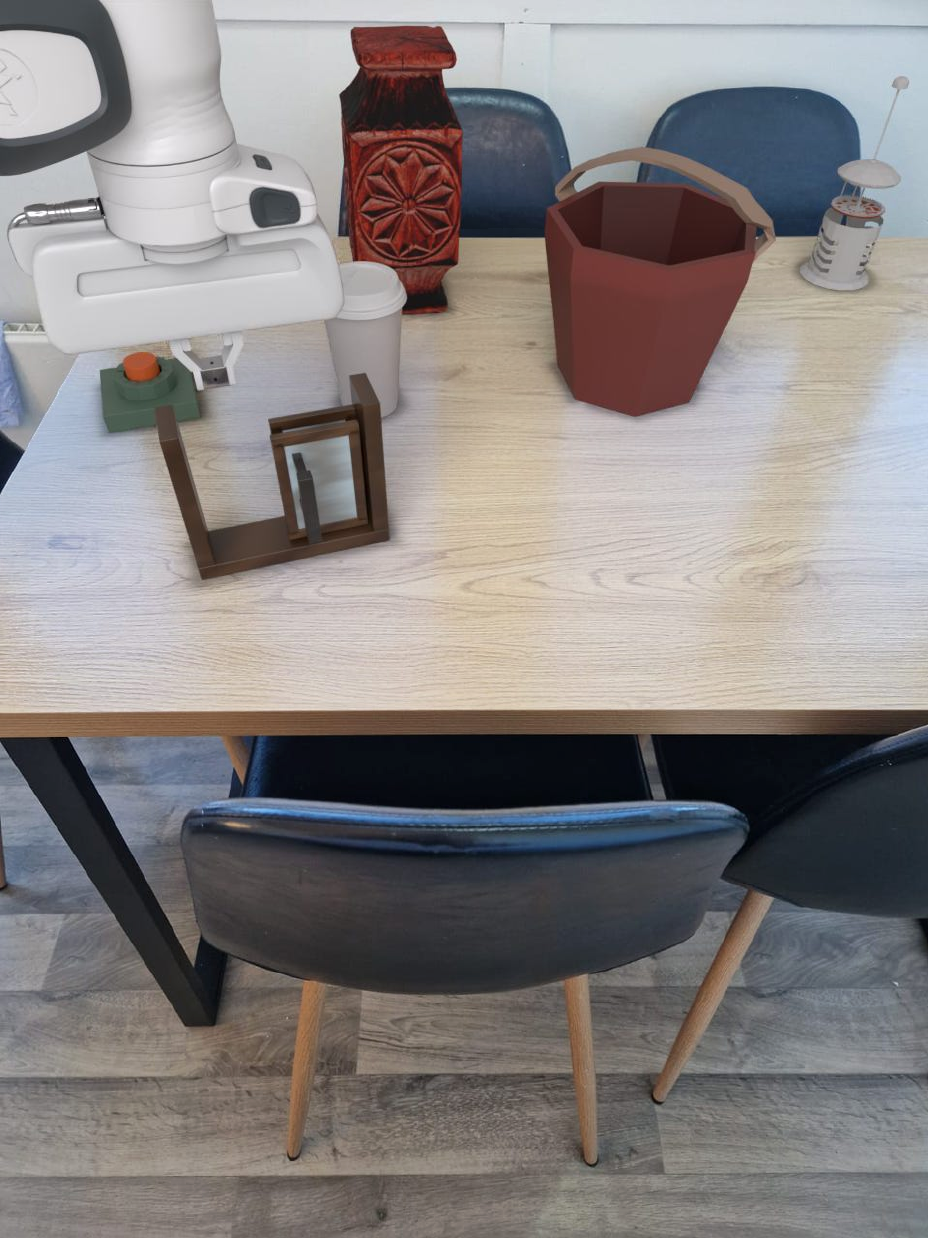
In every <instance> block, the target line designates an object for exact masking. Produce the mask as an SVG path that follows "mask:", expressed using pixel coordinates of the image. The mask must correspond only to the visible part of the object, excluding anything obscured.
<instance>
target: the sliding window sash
mask: <svg viewBox="0 0 928 1238" xmlns="http://www.w3.org/2000/svg"><path fill="white" fill-rule="evenodd" d="M269 441H270V446H271V451H272V456H273V461H274V466H275V471H276V477H277V483H278V488H279V493H280V499H281V504H282V509H283V514H284V515H283V516H285V520H286V525H287V531H288V536H289V539H290V540H292V539H297V538H302V537H307V538H308V542H309V544H311V543H315V542H320V541H322V535H321V533H326V532H331V531H336V530H341V529H346V528H350V527H355V526H360V525H365V524H368V517H367V506H366V496H365V485H364V474H363V463H362V453H361V442H360V430H359V423H358V421H357V420H351V421H346V422H340V423H335V424H329V425H323V426H318V427H312V428H306V429H301V430H295V431H289V432H284V433H278V434H272V435H271V434H269Z"/></svg>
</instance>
